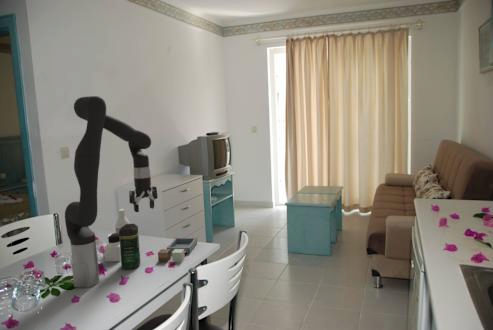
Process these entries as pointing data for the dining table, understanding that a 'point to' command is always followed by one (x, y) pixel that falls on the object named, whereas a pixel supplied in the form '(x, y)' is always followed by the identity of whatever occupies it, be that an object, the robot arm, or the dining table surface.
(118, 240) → the medicine bottle
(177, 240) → the tray
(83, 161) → the robot arm
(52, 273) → the dining table surface
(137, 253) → the coffee jar
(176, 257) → the sage block
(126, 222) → the bath foam
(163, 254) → the walnut block
